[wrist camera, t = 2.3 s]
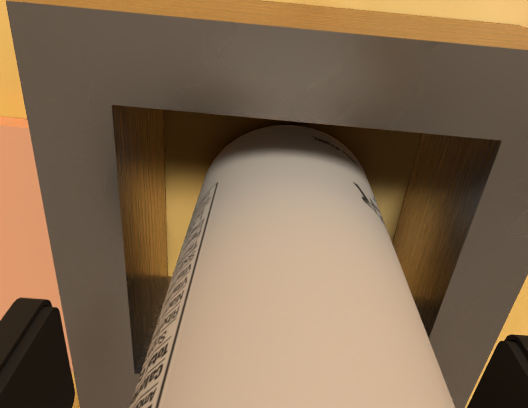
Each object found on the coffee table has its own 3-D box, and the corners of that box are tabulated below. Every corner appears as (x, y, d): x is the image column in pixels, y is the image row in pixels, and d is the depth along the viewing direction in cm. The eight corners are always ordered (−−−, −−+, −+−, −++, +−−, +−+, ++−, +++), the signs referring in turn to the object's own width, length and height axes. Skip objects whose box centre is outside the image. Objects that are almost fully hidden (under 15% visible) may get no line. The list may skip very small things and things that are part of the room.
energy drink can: (353, 261, 18) (535, 1031, 5) (206, 253, 18) (24, 1000, 5) (378, 120, 15) (941, 1080, 2) (203, 110, 15) (-225, 1007, 2)
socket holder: (518, 25, 14) (629, 59, 9) (413, 332, 20) (450, 437, 16) (93, -16, 14) (5, 0, 9) (123, 308, 20) (80, 408, 16)
